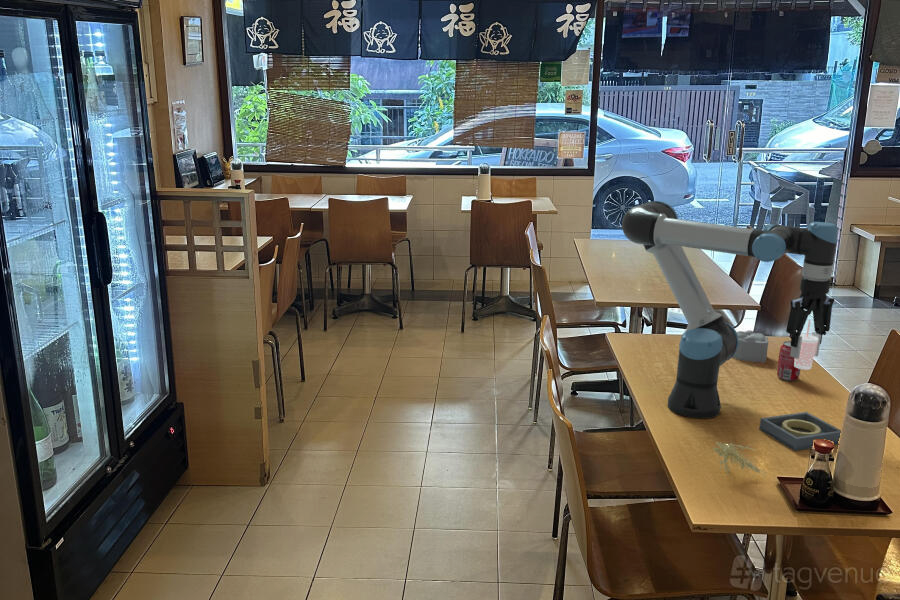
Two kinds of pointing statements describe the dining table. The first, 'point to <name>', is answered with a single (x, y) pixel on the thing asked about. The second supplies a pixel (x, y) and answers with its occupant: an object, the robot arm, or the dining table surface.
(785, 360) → the soda can
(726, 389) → the dining table surface
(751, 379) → the dining table surface
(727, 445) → the plant sprig
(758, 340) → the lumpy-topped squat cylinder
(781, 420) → the walled box
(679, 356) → the robot arm
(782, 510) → the dining table surface
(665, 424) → the dining table surface
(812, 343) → the beverage cup
